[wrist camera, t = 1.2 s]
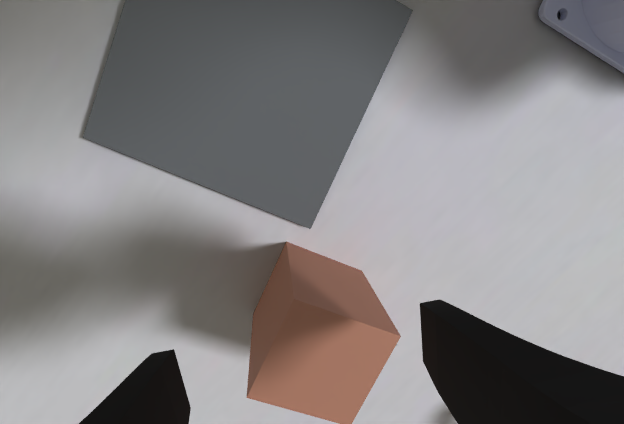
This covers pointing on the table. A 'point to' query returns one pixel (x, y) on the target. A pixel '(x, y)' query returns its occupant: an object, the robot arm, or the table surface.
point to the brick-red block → (318, 337)
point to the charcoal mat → (245, 92)
